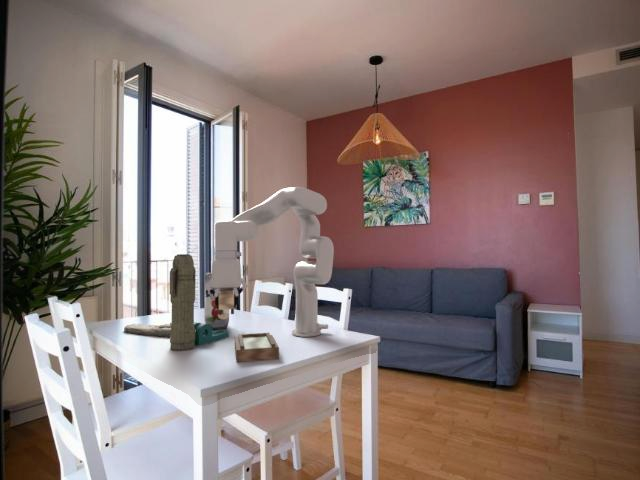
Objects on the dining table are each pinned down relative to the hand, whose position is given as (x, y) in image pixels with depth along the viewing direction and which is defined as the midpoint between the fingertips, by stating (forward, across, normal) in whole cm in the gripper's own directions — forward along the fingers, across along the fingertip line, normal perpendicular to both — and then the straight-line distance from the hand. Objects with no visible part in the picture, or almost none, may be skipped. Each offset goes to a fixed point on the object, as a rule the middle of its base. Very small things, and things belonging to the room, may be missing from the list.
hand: (226, 307), depth 131 cm
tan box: (+2, 0, 0) cm, 2 cm away
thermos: (+17, +16, -13) cm, 27 cm away
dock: (+17, -10, 0) cm, 20 cm away
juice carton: (+17, +5, -45) cm, 48 cm away
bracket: (+17, +7, -24) cm, 30 cm away
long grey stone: (+17, +29, -40) cm, 52 cm away
